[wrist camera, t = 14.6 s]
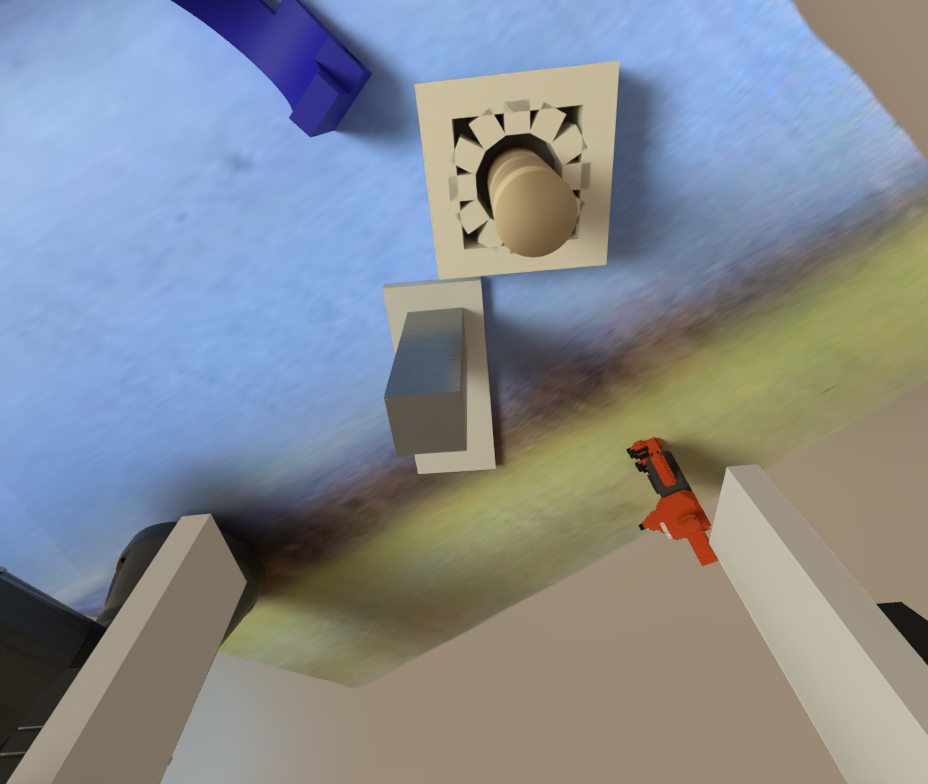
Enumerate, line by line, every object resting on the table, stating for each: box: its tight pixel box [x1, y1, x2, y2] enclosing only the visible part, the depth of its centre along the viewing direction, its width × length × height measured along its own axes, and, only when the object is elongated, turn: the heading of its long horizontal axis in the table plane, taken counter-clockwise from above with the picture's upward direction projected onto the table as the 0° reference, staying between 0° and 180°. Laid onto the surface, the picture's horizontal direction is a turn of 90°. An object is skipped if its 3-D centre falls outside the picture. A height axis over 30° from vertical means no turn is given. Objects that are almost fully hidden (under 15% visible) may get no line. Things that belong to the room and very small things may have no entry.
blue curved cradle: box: [171, 0, 371, 137], centre depth 28 cm, size 12×4×6 cm, turn 48°
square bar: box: [384, 307, 467, 456], centre depth 35 cm, size 5×5×13 cm
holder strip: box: [383, 276, 496, 474], centre depth 44 cm, size 8×20×1 cm, turn 5°
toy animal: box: [626, 437, 719, 566], centre depth 44 cm, size 8×5×12 cm
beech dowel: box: [486, 144, 578, 258], centre depth 29 cm, size 4×4×13 cm
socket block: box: [414, 61, 620, 280], centre depth 33 cm, size 12×12×4 cm
